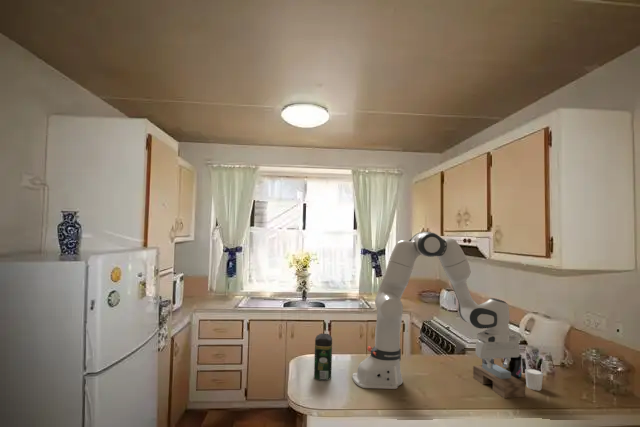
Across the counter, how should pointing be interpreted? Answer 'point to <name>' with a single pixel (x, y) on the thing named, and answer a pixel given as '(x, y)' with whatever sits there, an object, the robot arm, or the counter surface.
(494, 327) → the robot arm
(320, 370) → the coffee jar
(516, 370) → the supplement container
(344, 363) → the counter surface
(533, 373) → the white cylinder
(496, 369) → the blue-grey l-shaped block
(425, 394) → the counter surface
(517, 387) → the wooden bridge block
